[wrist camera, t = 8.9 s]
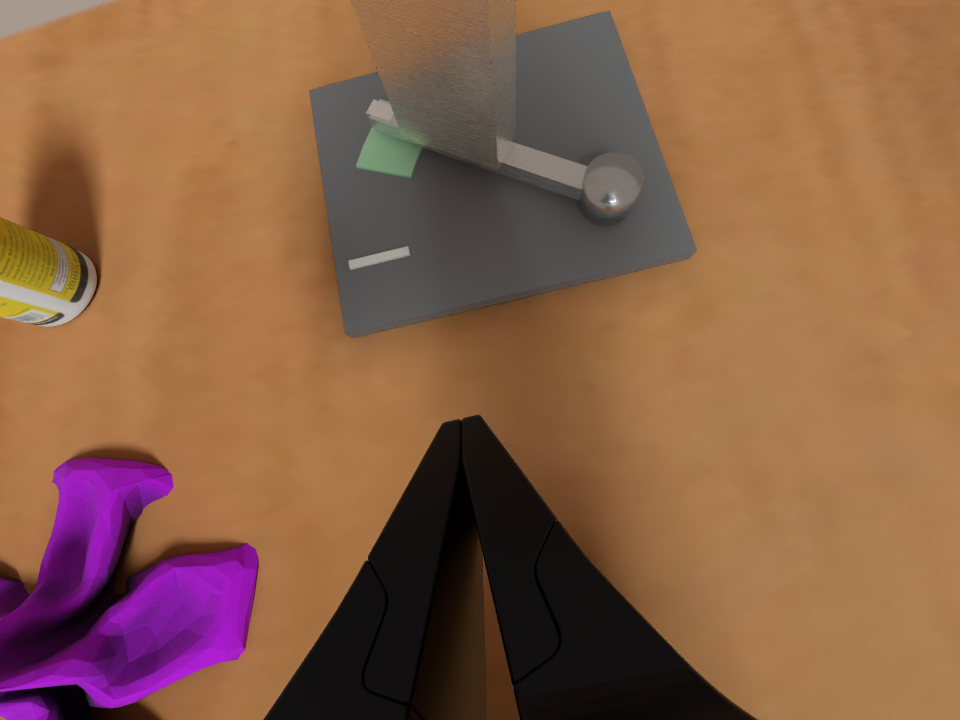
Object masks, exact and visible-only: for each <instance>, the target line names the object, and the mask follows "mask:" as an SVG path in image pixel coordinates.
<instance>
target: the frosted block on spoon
mask: <svg viewBox="0 0 960 720" xmlns="http://www.w3.org/2000/svg"><path fill="white" fill-rule="evenodd" d="M351 1H352V4H353V6H354V9H355V12H356V14H357V17H358V20H359V22H360V25H361V28H362V30H363V33H364V36H365V38H366V41H367V44H368V46H369V49H370V52H371V54H372V57H373V60H374V62H375V65H376V68H377V70H378V73H379V76H380V78H381V81H382V84H383V86H384V89H385V92H386V94H387V97H388V100H389V102H388V101H385V100H382V99H379V101H377V100H374V99H373V101H372V103H371V105H370V107H369V108H368V110H367V112H366V114H367V117H368V119H369V121H370V123H371V125H372V127H373V128H374V130H375V131H376V132H379V133H382V134H385V135H388V136H391V137H394V138H397V139H400V140H403V141H406V142H409V143H412V144H414V145H417V146H420V147H423V148H426V149H429V150H432V151H435V152H438V153H441V154H444V155H447V156H450V157H453V158H455V159H458V160H461V161H464V162H467V163H470V164H473V165H476V166H479V167H482V168H485V169H488V170H491V171H494V172H497V173H499V174H502V175H505V176H508V177H511V178H514V179H517V180H520V181H523V182H526V183H529V184H532V185H535V186H538V187H541V188H543V189H546V190H549V191H552V192H555V193H558V194H561V195H564V196H567V197H570V198H573V199H576V200H578V205H579V208H580V211H581V213H582V214H583V215H584V217H585V218H586V219H588V220H589V221H591V222H593V223H595V224H598V225H613V224H616V223H618V222H620V221H622V220H623V219H625V218H626V217H627V216H628V214H629V213H630V211H631V209H632V207H633V205H634V203H635V201H636V199H637V197H638V195H639V193H640V191H641V189H642V187H643V185H644V172H643V169H642V167H641V166H640V164H639V163H638V162H637V161H636V160H635V159H634V158H632V157H631V156H629V155H627V154H624V153H618V152H610V153H605V154H602V155H600V156H598V157H596V158H595V159H594V160H592V161H591V162H590V164H589V165H588V166H585V165H582V164H579V163H576V162H573V161H570V160H566V159H563V158H560V157H557V156H554V155H551V154H548V153H545V152H542V151H539V150H536V149H533V148H530V147H527V146H523V145H520V144H517V143H514V142H512V141H513V139H514V137H515V135H516V0H351Z"/></svg>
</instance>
